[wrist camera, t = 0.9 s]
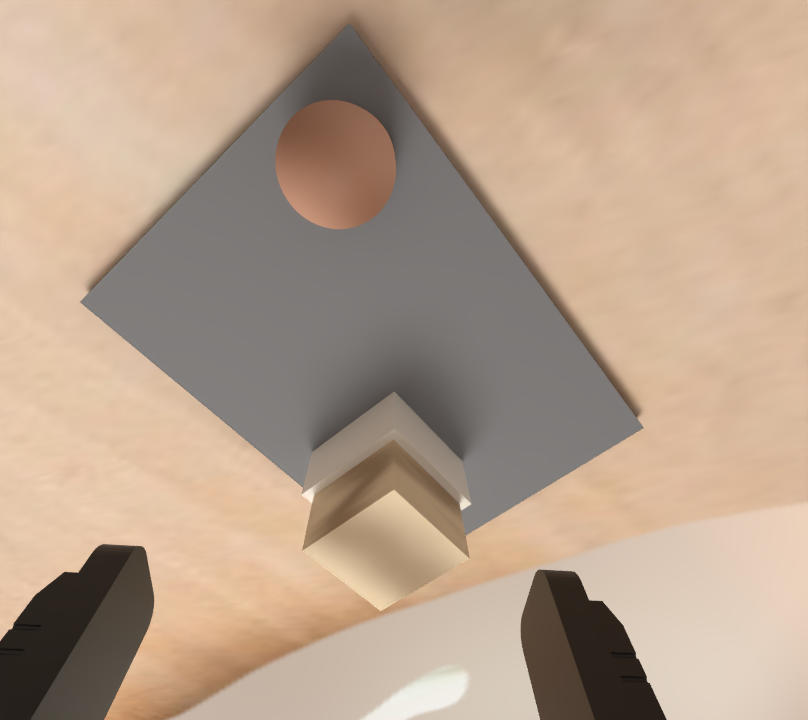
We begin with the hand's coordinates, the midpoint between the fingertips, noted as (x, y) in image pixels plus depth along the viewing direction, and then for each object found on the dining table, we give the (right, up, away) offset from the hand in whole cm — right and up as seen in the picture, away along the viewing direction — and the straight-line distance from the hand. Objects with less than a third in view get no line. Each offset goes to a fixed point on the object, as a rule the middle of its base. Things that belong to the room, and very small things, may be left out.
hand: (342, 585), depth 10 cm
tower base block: (0, -2, +21) cm, 22 cm away
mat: (0, +5, +20) cm, 20 cm away
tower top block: (0, -3, +18) cm, 18 cm away
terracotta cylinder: (-2, +14, +14) cm, 20 cm away
